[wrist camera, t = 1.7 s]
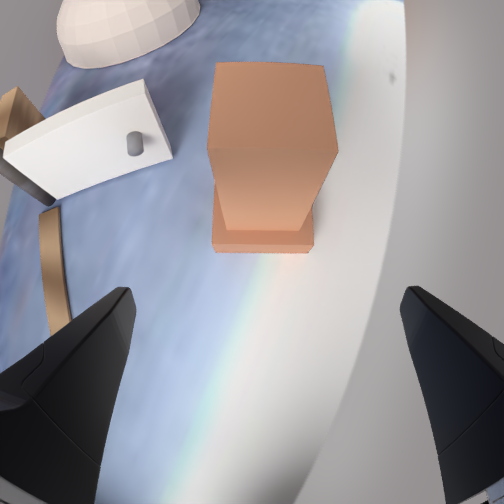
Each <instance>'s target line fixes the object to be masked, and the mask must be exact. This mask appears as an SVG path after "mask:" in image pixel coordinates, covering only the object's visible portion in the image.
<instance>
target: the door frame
mask: <svg viewBox="0 0 504 504" xmlns="http://www.w3.org/2000/svg"><path fill="white" fill-rule="evenodd" d="M43 120H45V118H44V117H43V115H42V114H41V113H40V112H39V111H38V110H37V109H36V107H35V106H34V105H33V104H32V102H31V101H30V100H29V99H28V98H27V97H26V95H25V94H24V93H23V92H22V90H21V89H20V88H19V87H18V86H17V87H15V88H14V89H12V90H11V91H9V92H7V93H6V94H4V95H3V96H2V98H1V102H0V174H1V175H3V176H4V177H6V178H7V179H8V180H10V181H11V182H12V183H14V184H15V185H17V186H18V187H20V188H21V189H22V190H24V191H25V192H27V193H28V194H30V195H31V196H33V197H34V198H36V199H37V200H38V201H40V202H41V203H43V204H44V205H46V206H51V205H52V204H53V203H54V202H55V200H56V198H54V197H53V196H52V195H50V194H49V193H48V192H46V191H45V190H44V189H42V188H41V187H40V186H38V185H37V184H36V183H34V182H33V181H32V180H30V179H29V178H28V177H27V176H25V175H24V174H23V173H21V172H20V171H19V170H18V169H16V168H15V167H14V166H12V165H11V164H10V163H9V162H7V161H6V160H5V159H4V158H3V153H4V147H5V142H6V141H8V140H10V139H11V138H13V137H15V136H16V135H18V134H20V133H21V132H23V131H25V130H27V129H29V128H30V127H32V126H34V125H36V124H38V123H40V122H41V121H43ZM39 239H40V257H41V270H42V280H43V289H44V297H45V304H46V311H47V317H48V323H49V329H50V334H51V336H52V335H53V334H55V333H56V332H57V331H59V330H60V329H61V328H63V327H64V326H65V325H67V324H68V323H69V322H71V321H72V320H71V314H70V308H69V302H68V296H67V289H66V282H65V274H64V265H63V255H62V243H61V227H60V208H59V207H56V208H54V209H51V210H49V211H46V212H44V213H42V214H39Z"/></svg>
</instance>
